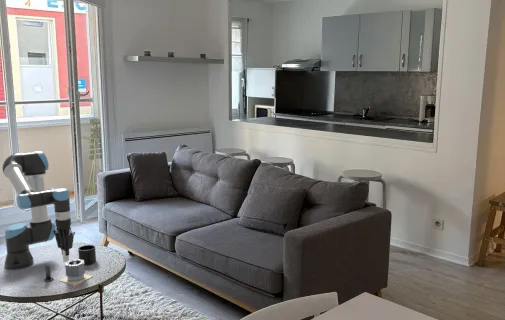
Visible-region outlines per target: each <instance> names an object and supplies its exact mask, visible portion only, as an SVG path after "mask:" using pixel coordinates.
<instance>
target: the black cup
mask: <svg viewBox="0 0 505 320" xmlns="http://www.w3.org/2000/svg"><path fill="white" fill-rule="evenodd" d="M77 250H78V252H77V253H78V259H81V260H84V266H90V265H93V264H96V262H97V254H96V253H97V252H96V246H95V245H92V244H86V245H82V246H79V247H78V249H77Z"/></svg>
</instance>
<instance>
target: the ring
mask: <svg viewBox="0 0 505 320" xmlns="http://www.w3.org/2000/svg"><path fill="white" fill-rule="evenodd" d="M75 262H76V265H73V263H75ZM64 263H65V265H64V266H65V268H64V269H65V277H67V276H69V277H76V276H80V275H82V274H85V273H86V271H85V270H86V269H85V265H84V260H81V259H79V258H77V259H69V261H67V262H64Z"/></svg>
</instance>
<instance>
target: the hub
mask: <svg viewBox="0 0 505 320" xmlns="http://www.w3.org/2000/svg"><path fill="white" fill-rule="evenodd" d="M73 265H76V262H75V263H73ZM92 278H93V276H92V275H88V274H85V273H84V274H82V275H80V276H76V277H69V276H65V277H63V278H61V279H58V281H59V282H62V283H64V282H65V284H69V285H71V286H77V285H78V284H81V283H83V282H85V281H87V280H90V279H92Z"/></svg>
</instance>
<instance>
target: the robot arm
mask: <svg viewBox="0 0 505 320" xmlns="http://www.w3.org/2000/svg"><path fill="white" fill-rule="evenodd" d="M49 166H50V165H49V161H48V158H47V155H46V153H44V152H43V151H42V150H41V151H40V150H39V151H36V150H35V151H26V152H20V153H19V152H18V153H13V154H10V155H9V156H7V158H5V160H4V161H3V164H2V173H3V175H4V176H5V178H7V179H8V180H9V181H10V183H11V184H12V187H13V188H14V191H15V192H16V193H17V197H16V204H17V207H18V209H19V210H23V209H25V210H26V209H27V210H28V209H30V210H31V219H30V220H29V224H27V223H26V222H21V223H19V222H18V223H14V224H12V225H9V226H8V227H6V229H5V230H4V234H5V235H4V239H5V245H6V256H5V260H4V268H6V269H8V270H17V269H19V270H20V269H24V268H27V267H29V266H31V265H33V264H34V257H33V255H32V253H31V251H30V246H31V245H36V244H40V243H47V242H49V241H52V240H53V239H55V241H56V245H57V248H58V249H60V250H61V255H62V261H63V263H65V262H68V261H70V250H71V249H72V248H73V245H74V237H75V235H76V232H75V231H73V230H72V228H71V224H72V218H71V204H70V192H69V191H70V190H68V188H64V187H63V188H55V187H51V188H48V189H47V190H46V189H45V180H44V179H45V178H44V177H45V175H46V174H47V172H46V171H48V170H49ZM49 205H50V206H51V205H53V208H54V219H55V221H53V220H52V218H51V217H50V216H49V215H48V206H49Z"/></svg>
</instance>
